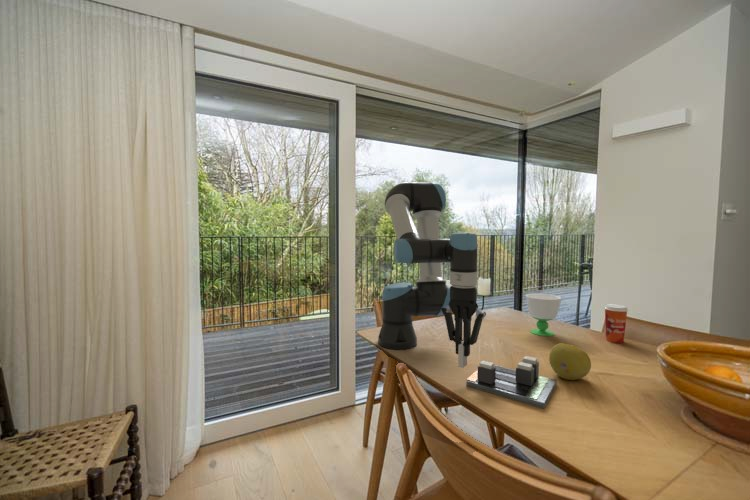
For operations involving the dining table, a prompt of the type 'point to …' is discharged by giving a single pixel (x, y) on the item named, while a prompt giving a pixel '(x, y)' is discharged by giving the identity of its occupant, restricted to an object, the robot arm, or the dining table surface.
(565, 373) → the fruit
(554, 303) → the cup
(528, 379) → the breaker mid row
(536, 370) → the breaker far row
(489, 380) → the block
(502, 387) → the panel
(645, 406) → the dining table surface
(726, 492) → the dining table surface
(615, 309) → the paper cup
